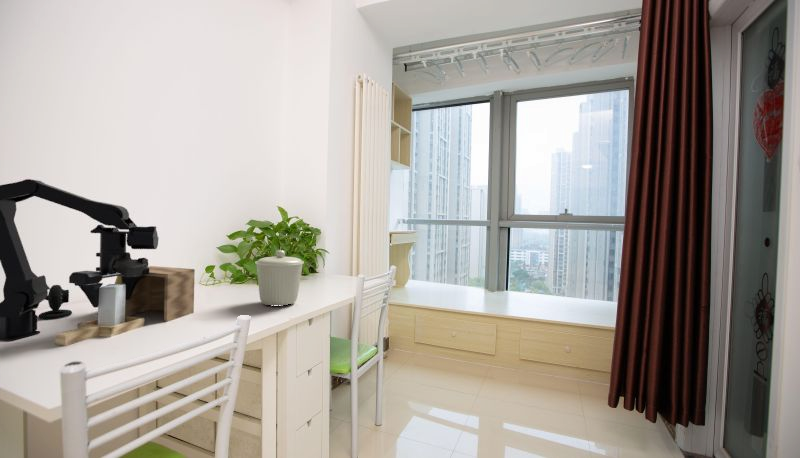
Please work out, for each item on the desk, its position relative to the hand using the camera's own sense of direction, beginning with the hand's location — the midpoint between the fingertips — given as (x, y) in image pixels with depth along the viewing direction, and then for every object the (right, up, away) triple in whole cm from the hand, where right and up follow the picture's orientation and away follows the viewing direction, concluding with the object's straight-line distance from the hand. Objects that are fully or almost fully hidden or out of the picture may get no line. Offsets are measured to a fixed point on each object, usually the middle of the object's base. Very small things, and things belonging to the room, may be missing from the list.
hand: (112, 303), depth 99 cm
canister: (+35, -8, +36) cm, 51 cm away
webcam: (-26, -6, +10) cm, 29 cm away
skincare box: (0, -7, 0) cm, 7 cm away
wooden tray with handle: (-1, -8, -4) cm, 9 cm away
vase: (-14, -5, +19) cm, 24 cm away
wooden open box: (+2, -7, +16) cm, 17 cm away
